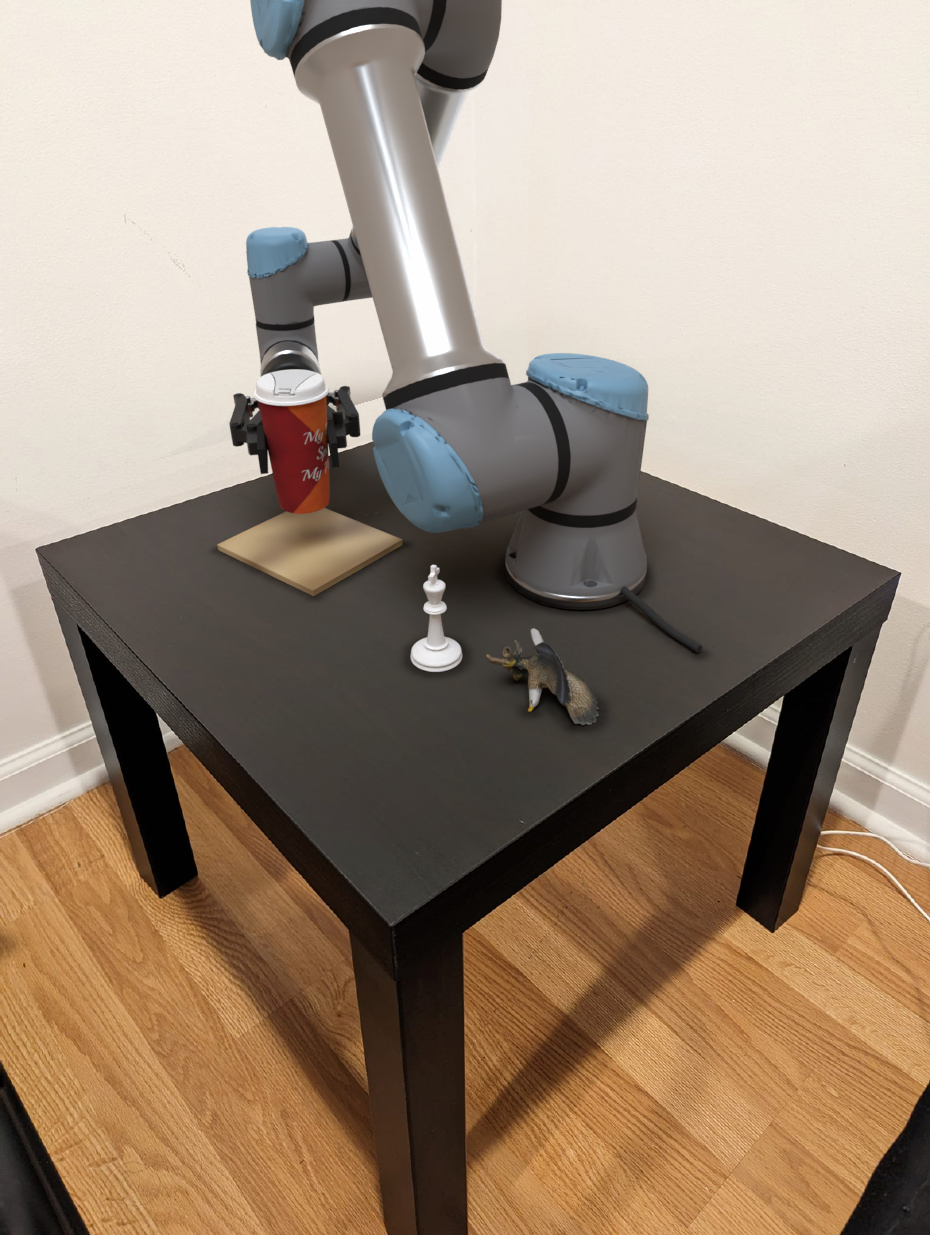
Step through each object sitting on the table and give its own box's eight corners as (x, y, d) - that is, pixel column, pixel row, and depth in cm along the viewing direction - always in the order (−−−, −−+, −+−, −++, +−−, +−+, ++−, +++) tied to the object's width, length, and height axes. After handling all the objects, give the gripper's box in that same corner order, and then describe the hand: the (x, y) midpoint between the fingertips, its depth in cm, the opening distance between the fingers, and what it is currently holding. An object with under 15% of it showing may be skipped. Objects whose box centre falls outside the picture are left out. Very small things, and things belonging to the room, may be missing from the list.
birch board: (402, 545, 101) (402, 539, 100) (313, 596, 92) (312, 590, 91) (308, 506, 109) (307, 500, 108) (217, 550, 100) (216, 544, 99)
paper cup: (334, 518, 94) (321, 393, 86) (263, 518, 94) (244, 392, 86) (343, 486, 100) (333, 366, 92) (277, 486, 100) (261, 366, 92)
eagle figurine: (474, 700, 75) (561, 727, 70) (492, 620, 75) (580, 641, 70) (523, 703, 81) (606, 728, 76) (539, 628, 81) (624, 648, 76)
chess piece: (469, 646, 84) (468, 557, 78) (452, 676, 80) (450, 584, 74) (421, 637, 85) (417, 548, 80) (402, 666, 81) (397, 575, 76)
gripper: (372, 405, 111) (395, 483, 92) (215, 417, 108) (207, 500, 89) (368, 347, 107) (392, 416, 88) (205, 357, 104) (193, 431, 85)
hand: (298, 458), depth 89 cm, fingers closed on paper cup, 7 cm apart
